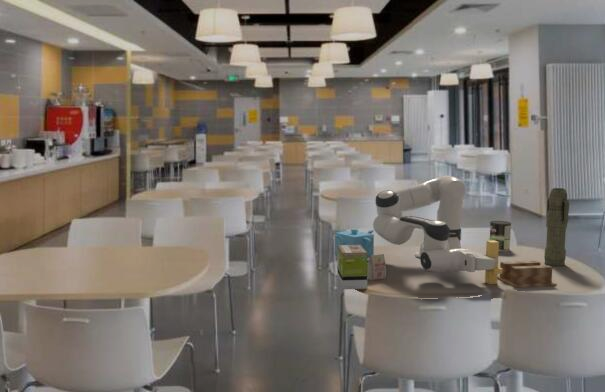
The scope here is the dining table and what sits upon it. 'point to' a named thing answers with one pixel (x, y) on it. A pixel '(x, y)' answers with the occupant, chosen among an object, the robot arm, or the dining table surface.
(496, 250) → the yellow tall bar
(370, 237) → the teakettle
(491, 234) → the coffee can
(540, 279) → the rack
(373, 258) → the pink milk carton
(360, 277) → the tea box
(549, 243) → the thermos
